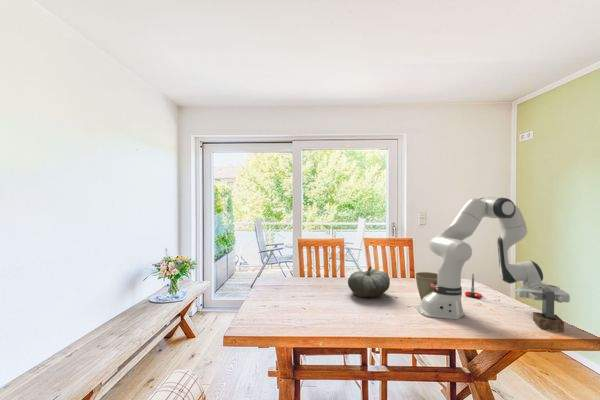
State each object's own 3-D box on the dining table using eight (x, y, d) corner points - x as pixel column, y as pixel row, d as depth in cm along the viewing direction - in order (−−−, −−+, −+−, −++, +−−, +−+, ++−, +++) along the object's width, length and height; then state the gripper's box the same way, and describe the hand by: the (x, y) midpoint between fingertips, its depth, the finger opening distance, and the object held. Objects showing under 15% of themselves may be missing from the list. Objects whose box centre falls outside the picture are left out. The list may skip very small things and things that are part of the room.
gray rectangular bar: (545, 325, 140) (546, 291, 140) (541, 321, 145) (542, 288, 145) (553, 326, 139) (554, 292, 139) (549, 322, 144) (550, 289, 143)
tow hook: (465, 292, 192) (463, 296, 184) (466, 270, 192) (464, 273, 184) (482, 295, 187) (481, 299, 179) (482, 272, 187) (481, 275, 179)
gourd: (400, 294, 179) (394, 265, 179) (365, 307, 170) (359, 276, 170) (375, 286, 202) (370, 261, 202) (343, 297, 193) (338, 270, 193)
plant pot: (447, 309, 163) (447, 279, 163) (417, 307, 166) (418, 278, 166) (440, 299, 178) (440, 272, 177) (413, 297, 181) (413, 271, 180)
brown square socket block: (539, 328, 139) (539, 318, 139) (533, 321, 148) (533, 311, 148) (564, 332, 136) (564, 322, 136) (556, 324, 144) (556, 314, 144)
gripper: (513, 282, 159) (521, 290, 146) (562, 287, 151) (575, 295, 138) (513, 294, 159) (521, 303, 146) (562, 299, 151) (575, 309, 139)
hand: (547, 299), depth 142 cm, fingers open, 8 cm apart
